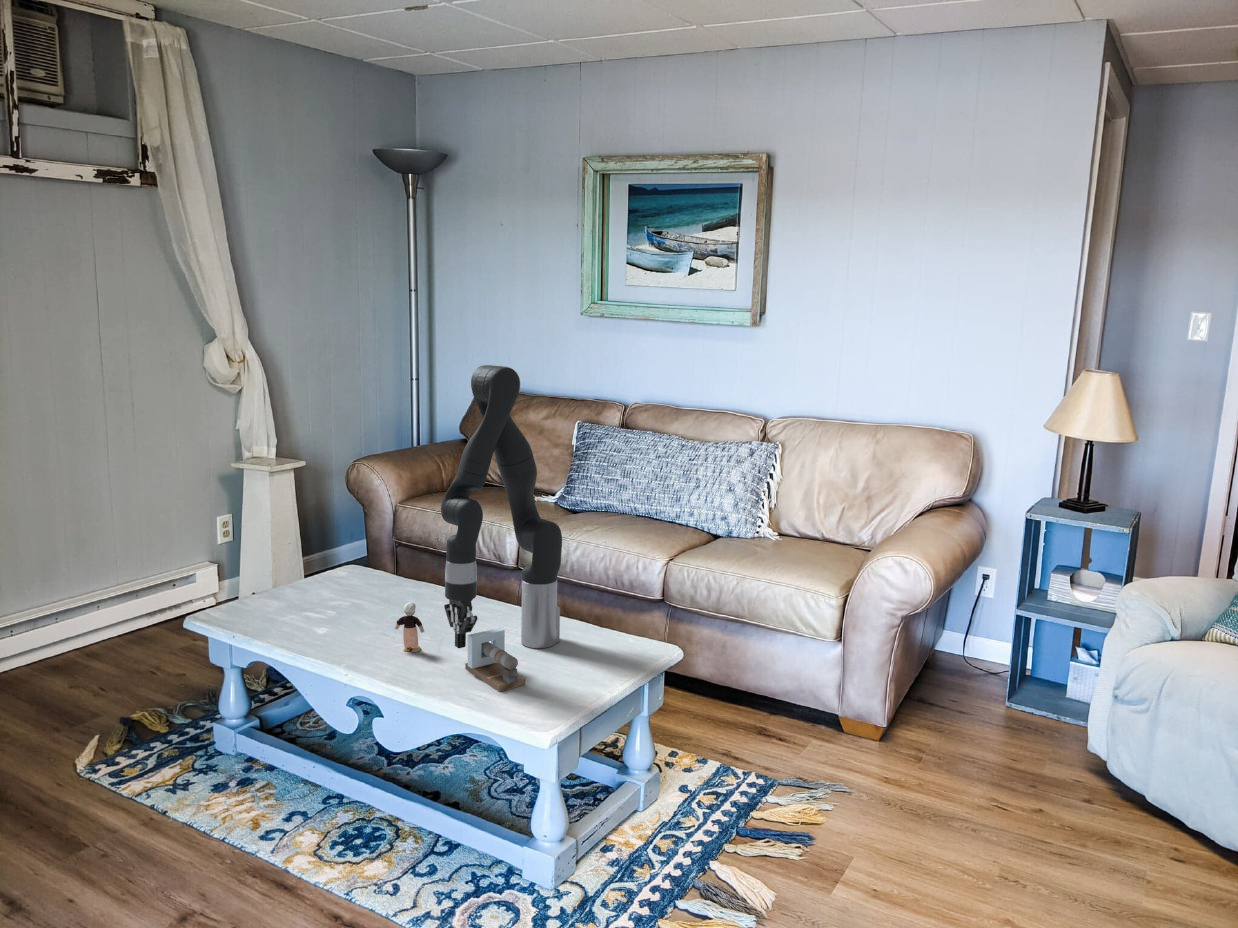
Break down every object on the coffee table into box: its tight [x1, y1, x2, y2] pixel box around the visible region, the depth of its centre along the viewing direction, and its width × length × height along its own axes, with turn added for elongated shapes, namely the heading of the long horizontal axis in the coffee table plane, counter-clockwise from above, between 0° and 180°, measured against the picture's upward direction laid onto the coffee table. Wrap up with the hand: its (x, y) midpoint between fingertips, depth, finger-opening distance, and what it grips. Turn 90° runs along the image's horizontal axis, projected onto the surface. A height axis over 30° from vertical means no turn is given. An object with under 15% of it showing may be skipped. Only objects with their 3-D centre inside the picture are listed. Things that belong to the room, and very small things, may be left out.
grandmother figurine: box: [394, 601, 425, 653], centre depth 240 cm, size 8×4×13 cm, turn 92°
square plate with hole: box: [467, 627, 506, 668], centre depth 227 cm, size 9×2×8 cm, turn 128°
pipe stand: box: [464, 641, 526, 693], centre depth 225 cm, size 7×16×8 cm, turn 38°
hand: (460, 646), depth 230 cm, fingers closed
